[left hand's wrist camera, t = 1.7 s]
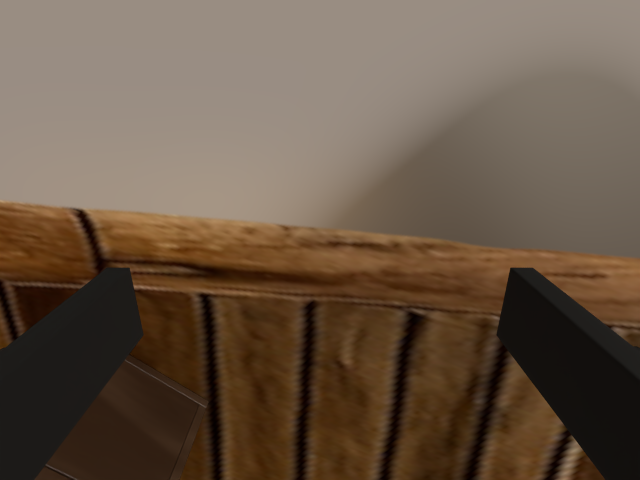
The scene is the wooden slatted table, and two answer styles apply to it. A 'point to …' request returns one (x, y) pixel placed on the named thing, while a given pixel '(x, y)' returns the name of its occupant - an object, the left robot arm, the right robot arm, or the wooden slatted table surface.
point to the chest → (132, 429)
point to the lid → (50, 475)
